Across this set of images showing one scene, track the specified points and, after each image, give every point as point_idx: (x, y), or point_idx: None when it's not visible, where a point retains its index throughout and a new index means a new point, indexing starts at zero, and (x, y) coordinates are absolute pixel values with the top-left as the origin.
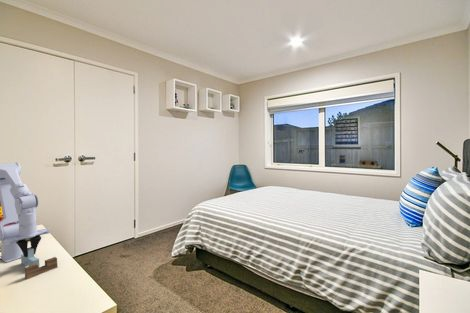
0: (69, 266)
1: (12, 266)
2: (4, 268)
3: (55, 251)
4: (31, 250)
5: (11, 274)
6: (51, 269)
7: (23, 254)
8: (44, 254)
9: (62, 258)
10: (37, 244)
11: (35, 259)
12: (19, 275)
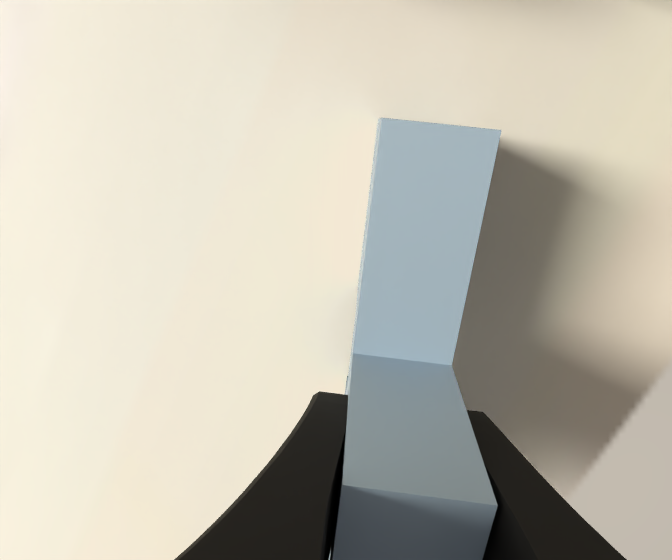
0: None
1: None
2: None
3: (25, 460)
4: (399, 463)
5: (627, 309)
6: None
7: None
8: (137, 498)
9: (39, 129)
10: (212, 543)
11: (429, 163)
12: (627, 161)
